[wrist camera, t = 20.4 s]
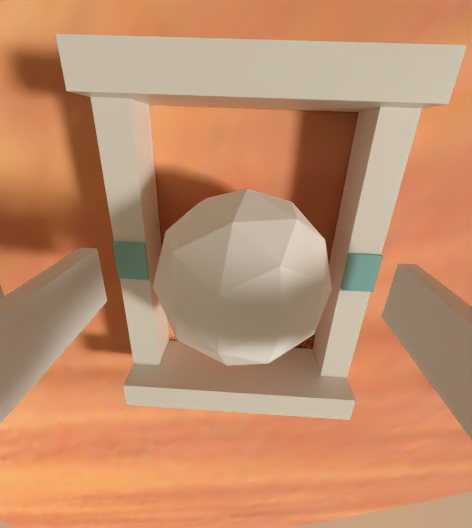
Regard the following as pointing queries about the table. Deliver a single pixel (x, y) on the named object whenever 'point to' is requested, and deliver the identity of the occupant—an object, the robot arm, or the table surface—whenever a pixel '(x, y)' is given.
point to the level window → (257, 97)
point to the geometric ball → (243, 277)
